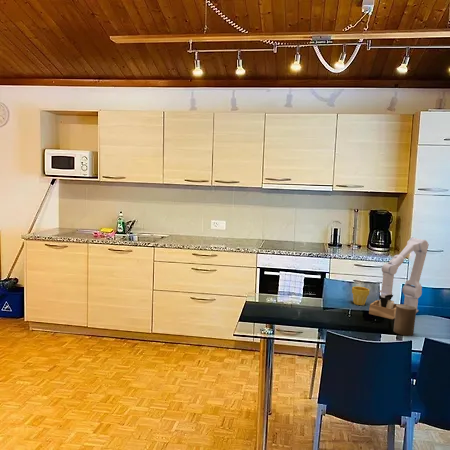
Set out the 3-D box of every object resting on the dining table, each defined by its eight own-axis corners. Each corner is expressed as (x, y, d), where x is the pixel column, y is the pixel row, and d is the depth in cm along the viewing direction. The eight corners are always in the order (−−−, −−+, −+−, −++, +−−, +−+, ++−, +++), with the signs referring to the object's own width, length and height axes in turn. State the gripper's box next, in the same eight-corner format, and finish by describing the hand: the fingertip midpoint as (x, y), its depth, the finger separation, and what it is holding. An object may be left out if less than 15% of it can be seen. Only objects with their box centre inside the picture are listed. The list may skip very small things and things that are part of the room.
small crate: (380, 308, 273) (381, 298, 273) (392, 311, 270) (394, 301, 269) (378, 309, 269) (379, 299, 269) (390, 312, 265) (391, 302, 265)
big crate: (375, 308, 279) (376, 300, 279) (399, 314, 272) (400, 305, 271) (368, 313, 268) (369, 304, 268) (392, 319, 261) (394, 309, 260)
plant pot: (369, 303, 290) (371, 288, 289) (365, 307, 281) (367, 291, 280) (353, 300, 295) (354, 285, 294) (348, 303, 286) (350, 288, 285)
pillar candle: (413, 337, 233) (417, 308, 231) (392, 333, 236) (396, 304, 235) (413, 331, 242) (416, 303, 240) (393, 328, 245) (396, 300, 244)
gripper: (384, 281, 276) (381, 303, 278) (376, 285, 264) (374, 308, 266) (396, 283, 272) (393, 306, 274) (389, 287, 260) (386, 311, 262)
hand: (384, 307), depth 270 cm, fingers closed on small crate, 5 cm apart
